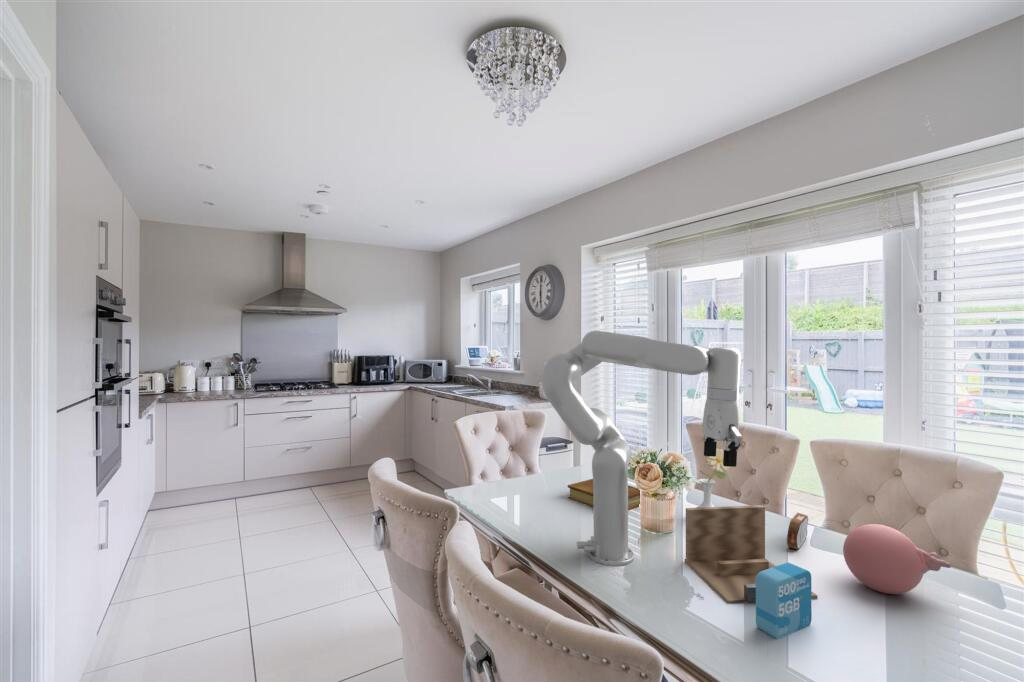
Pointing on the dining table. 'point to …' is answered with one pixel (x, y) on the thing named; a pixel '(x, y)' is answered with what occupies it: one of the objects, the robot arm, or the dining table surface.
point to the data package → (783, 599)
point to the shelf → (727, 547)
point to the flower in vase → (707, 484)
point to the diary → (585, 494)
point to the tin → (797, 531)
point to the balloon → (887, 559)
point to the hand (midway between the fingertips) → (719, 461)
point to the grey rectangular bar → (750, 592)
